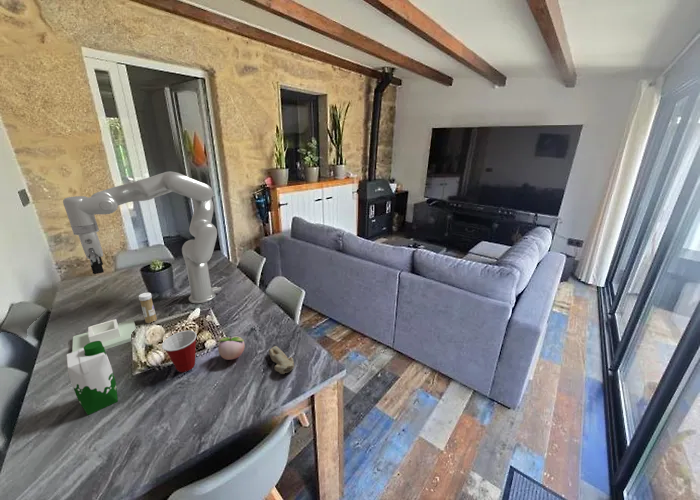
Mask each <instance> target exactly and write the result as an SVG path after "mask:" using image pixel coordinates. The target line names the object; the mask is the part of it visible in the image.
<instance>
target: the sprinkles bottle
mask: <svg viewBox="0 0 700 500" xmlns="http://www.w3.org/2000/svg"><path fill="white" fill-rule="evenodd" d="M152 297H153V296H152V293H151V292H144V293H140V294H139V295H138V300H139V302H140V305H141V307H140V308H141V310H142V314H143V317H144V320H145V321H144V322H145V324H152V323H154V322H153V321H155V322H156V321H157V320H158V318H157V314H156V310H155V306H154V303H153V302H154V301H153V300H152V299H153V298H152ZM151 322H152V323H151Z"/></svg>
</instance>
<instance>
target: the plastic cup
mask: <svg viewBox="0 0 700 500" xmlns="http://www.w3.org/2000/svg"><path fill="white" fill-rule="evenodd" d="M196 339H197V332H195V331H194V330H190V329H189V330H182V331H179V332H175V333H174V334H171V335H170V336H168V337H166V339H164V341H163V342H162V344H161V349H163V350H164V351H165V352H166V353H167V354H168V357H169V358H170V360H171V362H172V364H173V365H174V367H175V369H176V371H177V372H179V373H185V372H189V371H190V370H192V369H193V368H195V365H196V345H197V342H196V341H197V340H196Z"/></svg>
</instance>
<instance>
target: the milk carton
mask: <svg viewBox="0 0 700 500" xmlns="http://www.w3.org/2000/svg"><path fill="white" fill-rule="evenodd" d="M66 362H67V370H68V377H69V380H70V383H71V385H72V389H73V390H74V394H75V396H76V398H77V400H78V401H77V402H79V404H80V405H81V407H82V408H83V410H84V412H85V413H86V414H87V416H89V415H92V414H94V413H96V412H98V411H100V410H102V409H105V408H107V407H110V406H111V405H113V404H114V405H115V403H118V402H119V400H118V399H119V398H118V389H117V382H116V376H115V375H114V371H113V367H112V365H111V361H110V360H109V357H108V355H107V352H106V350H105V348H104V347H103V345H102V342H101V341H94V342H91V343H88V344H87V345H85V346H84V348H82V349H79V350H78V351H75V352H72V351H71V352H69V353H67V354H66Z"/></svg>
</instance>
